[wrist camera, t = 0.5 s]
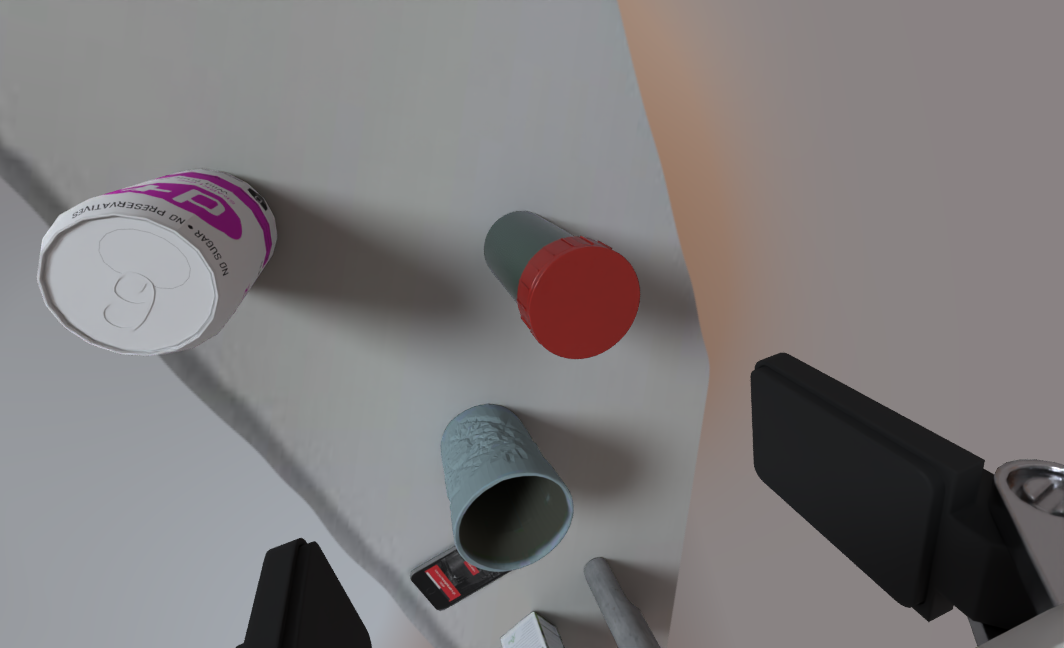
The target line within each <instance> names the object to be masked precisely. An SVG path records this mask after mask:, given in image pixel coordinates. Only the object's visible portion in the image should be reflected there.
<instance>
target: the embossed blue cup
mask: <svg viewBox="0 0 1064 648" xmlns="http://www.w3.org/2000/svg"><path fill="white" fill-rule="evenodd" d="M441 455H442V462H443V468H444V473H445V483H446V490H447V496H448V498H449V500H450V502H451V504H450V510H451V520H452V528H453V535H454V541H455V546H456V548H457V550H458V552H459V554H460V555H461V556H462V557H463V558H464V560H465V561H466V562H468V563H469V564H471V565H473V566H475V567H478V568H480V569H483V570H487V571H494V572H504V571H510V570H516V569H519V568H522V567H525V566H528V565H530V564H533V563H534V562H536V561H538V560H540V559H541V558H543V557H544V556H546V555H547V554H548V553H549V552H551V551H552V550H553V549H554V548H555V547H556V546H557V545H558V544H559V543H560V542H561V540H562V539H563V537H564V536H565V534H566V533H567V531H568V529H569V527H570V524H571V521H572V518H573V500H572V496H571V494H570V491H569V489H568V488H567V486H566V485H565V484H564V482H563V481H562V480H561V478H560V477H559V475H558V474H557V473H556V471H555V470H554V468H553V467H552V466H551V465H550V464H549V462H548V461H547V460H546V459H545V458H544V457H543V455H542V454H541V452H540V450H539V449H538V446H537V444H536V443H535V442H534V441H532V438H531V436H530V435H529V433H528V431H527V430H526V428H525V427H524V425H523V424H522V423H521V421H520V420H519V418H518V417H517V416H516V415H515V414H514V413H513V412H511V411H510V410H508V409H507V408H505V407H503V406H499V405H494V404H493V405H490V404H485V405H479V406H474V407H472V408H470V409H468V410H466V411H464V412H462V413H461V414H459V415H458V416H457V417H455V418H454V419H453V420H452V421H451V422H450V423H449V425H448V426H447V428H446V429H445V432H444V434H443V437H442V441H441Z"/></svg>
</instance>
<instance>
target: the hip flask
mask: <svg viewBox="0 0 1064 648" xmlns="http://www.w3.org/2000/svg"><path fill="white" fill-rule="evenodd" d="M584 574H585V577H586V580H587V582H588V584H589V587H590V589H591V591H592V593H593V595H594V597H595V599H596V601H597V603H598V606H599V608H600V610H601V612H602V614H603V616H604V618H605V620H606V622H607V625H608V627H609V629H610V631H611V633H612V635H613V637H614V639H615V641H616V643H617V646H618V648H660V646H659V644H658V642H657V641H656V639H655V637H654V635H653V633H652V631H651V630H650V628H649V626H648V624H647V622H646V621H645V619H644V617H643V615H642V613H641V612H640V610H639V609H638V608H637V607H635V606H634V605H633V604H632V603H631V602H630V601H629V600H628V599H627V598H626V596H625V595H624V593H623V591H622V589H621V587H620V585H619V583H618V582H617V580H616V578H615V576H614V574H613V572H612V570H611V569H610V567H609V565H608V563H607V561H606V560H605V559H604V558H595V559H592V560H591V561H589V562H588V563H587V564H586V566H585V568H584Z"/></svg>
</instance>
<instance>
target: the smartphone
mask: <svg viewBox="0 0 1064 648" xmlns="http://www.w3.org/2000/svg"><path fill="white" fill-rule="evenodd" d="M510 571H512V570H510ZM510 571H504V572H494V571H487V570H483V569H480V568H478V567H475V566H473V565H471V564H469V563H468V562H466V561H465V560H464V558H463V557H462V556H461V555H460V554H459V552H458V550H457V548H456V546H454V547H452V548H451V549H449V550H447V551H445V552H444V553H442V554H440V555H438V556H437V557H435V558H433V559H431V560H430V561H428V562H426V563H424V564H423V565H421V566H419V567H417V568H416V569H414V570H413V571H412V572H411V574H410V577H411V581H412V582H413V583H414V584H415V585H416V586H417V588H418V589H419V590H420V591H421V592H422V593H423V595H424V596H425V597H426V598H427V599H428V600H429V601H430V603H431V604H432V605H433V606H434V607H435V608H436V609H437V610H439V611H442V610H445V609H447V608H448V607H450V606H452V605H454V604H455V603H457V602H459V601H460V600H462V599H464V598H466V597H467V596H469V595H471V594H472V593H474V592H476V591H477V590H479V589H481V588H483V587H484V586H486V585H488V584H489V583H491V582H493V581H495V580H496V579H498V578H500V577H501V576H503V575H505V574H507V573H508V572H510Z"/></svg>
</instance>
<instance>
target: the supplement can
mask: <svg viewBox="0 0 1064 648" xmlns="http://www.w3.org/2000/svg"><path fill="white" fill-rule="evenodd" d="M276 240H277V230H276V223H275V217H274V216H273V214H272V212H271V210H270V208H269V206H268V204H267V203H266V201H265V199H264V198H263V197H262V196H261V195H260V194H259V193H258V192H257V191H255V190H254V189H253V188H252V187H251V186H250V185H249V184H248V183H246V182H244V181H242V180H240V179H238V178H236V177H234V176H232V175H230V174H228V173H226V172H221V171H215V170H209V169H204V168H201V169H194V170H187V171H180V172H176V173H173V174H170V175H167V176H163V177H160V178H157V179H153V180H150V181H147V182H143V183H140V184H137V185H133V186H130V187H127V188H123V189H120V190H117V191H114V192H110V193H107V194H104V195H100V196H97V197H94V198H90V199H88V200H86V201H84V202H82V203H80V204H79V205H77V206H75V207H73V208H71V209H70V210H68V211H66V212H64V213H62V214H61V215H59V217H58V218H57V219H56V221H55V222H54V224H53V225H52V226H51V228H50V229H49V230H48V232H47V233H46V235H45V236H44V237H43V239H42V245H41V252H40V257H39V265H38V273H37V282H38V285H39V288H40V291H41V294H42V297H43V300H44V303H45V305H46V306H47V308H48V309H49V310H50V311H51V312H52V314H53V315H54V316H55V317H56V318H57V320H58V321H59V322H60V323H61V324H62V326H63V327H64V328H66V329H67V330H69V331H70V332H72V333H73V334H75V335H76V336H78V337H80V338H81V339H83V340H84V341H86V342H87V343H89V344H90V345H93V346H96V347H99V348H103V349H106V350H109V351H112V352H115V353H118V354H126V355H142V356H152V355H157V354H168V353H173V352H177V351H182V350H186V349H191V348H195V347H196V346H198V345H200V344H201V343H203V342H205V341H206V340H208V339H210V338H212V337H213V336H215V335H217V334H218V333H219V332H220V330H221V329H222V328H223V327H224V325H225V324H226V323H227V321H228V320H229V319H230V318H231V316H232V315H233V314H234V312H235V311H236V309H237V308H238V306H239V305H240V303H241V302H242V300H243V299H244V297H245V296H246V294H247V293H248V291H249V290H250V288H251V287H252V285H253V284H254V282H255V281H256V279H257V278H258V276H259V275H260V273H261V272H262V270H263V269H264V267H265V266H266V264H267V263H268V261H269V260H270V258H271V257H272V255H273V252H274V248H275V244H276Z"/></svg>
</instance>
